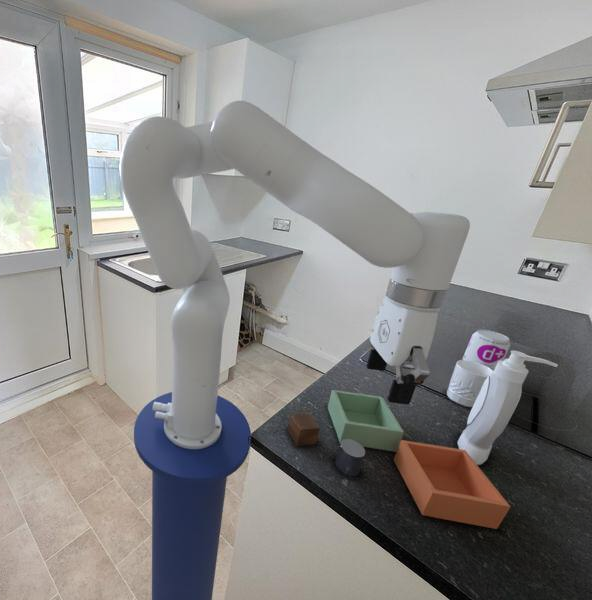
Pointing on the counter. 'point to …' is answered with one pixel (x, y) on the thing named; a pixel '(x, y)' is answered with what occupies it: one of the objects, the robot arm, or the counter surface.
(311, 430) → the walnut block
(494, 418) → the soap bottle
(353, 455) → the steel cylinder
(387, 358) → the robot arm
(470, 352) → the supplement can
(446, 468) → the right bin
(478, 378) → the white cup
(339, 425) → the left bin
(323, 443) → the counter surface
